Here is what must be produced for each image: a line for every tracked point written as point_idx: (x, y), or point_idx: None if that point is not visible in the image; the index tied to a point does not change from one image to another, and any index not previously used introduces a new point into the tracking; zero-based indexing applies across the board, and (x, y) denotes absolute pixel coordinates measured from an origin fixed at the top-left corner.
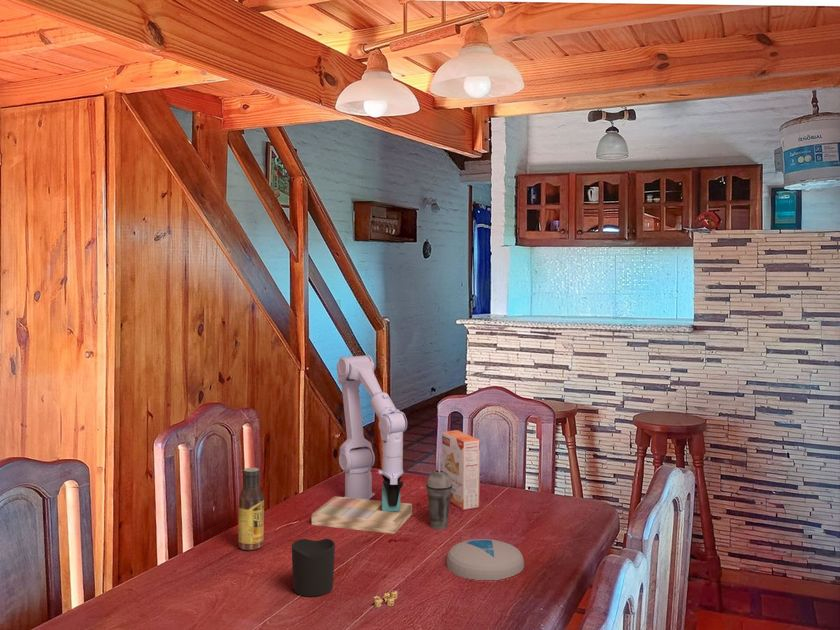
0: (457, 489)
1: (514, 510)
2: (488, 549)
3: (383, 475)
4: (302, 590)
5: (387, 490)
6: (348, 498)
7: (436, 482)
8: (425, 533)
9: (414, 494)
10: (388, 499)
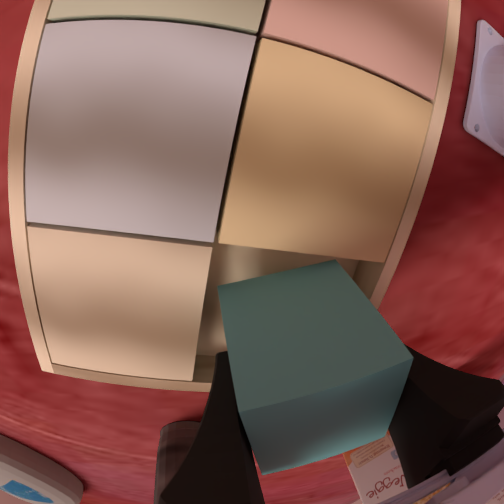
0: (384, 468)
1: (324, 483)
2: (7, 491)
3: (477, 419)
4: None
5: (188, 460)
6: (447, 34)
7: None
8: (112, 413)
9: (495, 301)
10: (212, 388)
